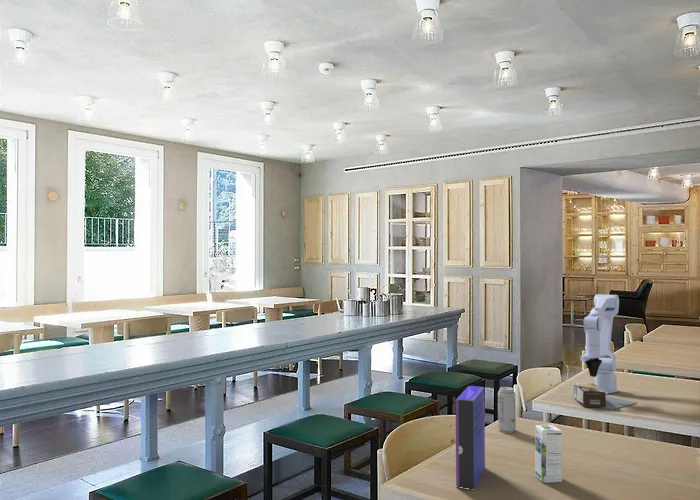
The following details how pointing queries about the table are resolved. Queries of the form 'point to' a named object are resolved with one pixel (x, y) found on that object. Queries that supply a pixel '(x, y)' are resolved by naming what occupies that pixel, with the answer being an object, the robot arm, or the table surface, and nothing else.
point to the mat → (616, 403)
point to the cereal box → (470, 436)
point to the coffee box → (588, 395)
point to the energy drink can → (506, 410)
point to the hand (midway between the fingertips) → (593, 376)
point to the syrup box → (548, 453)
